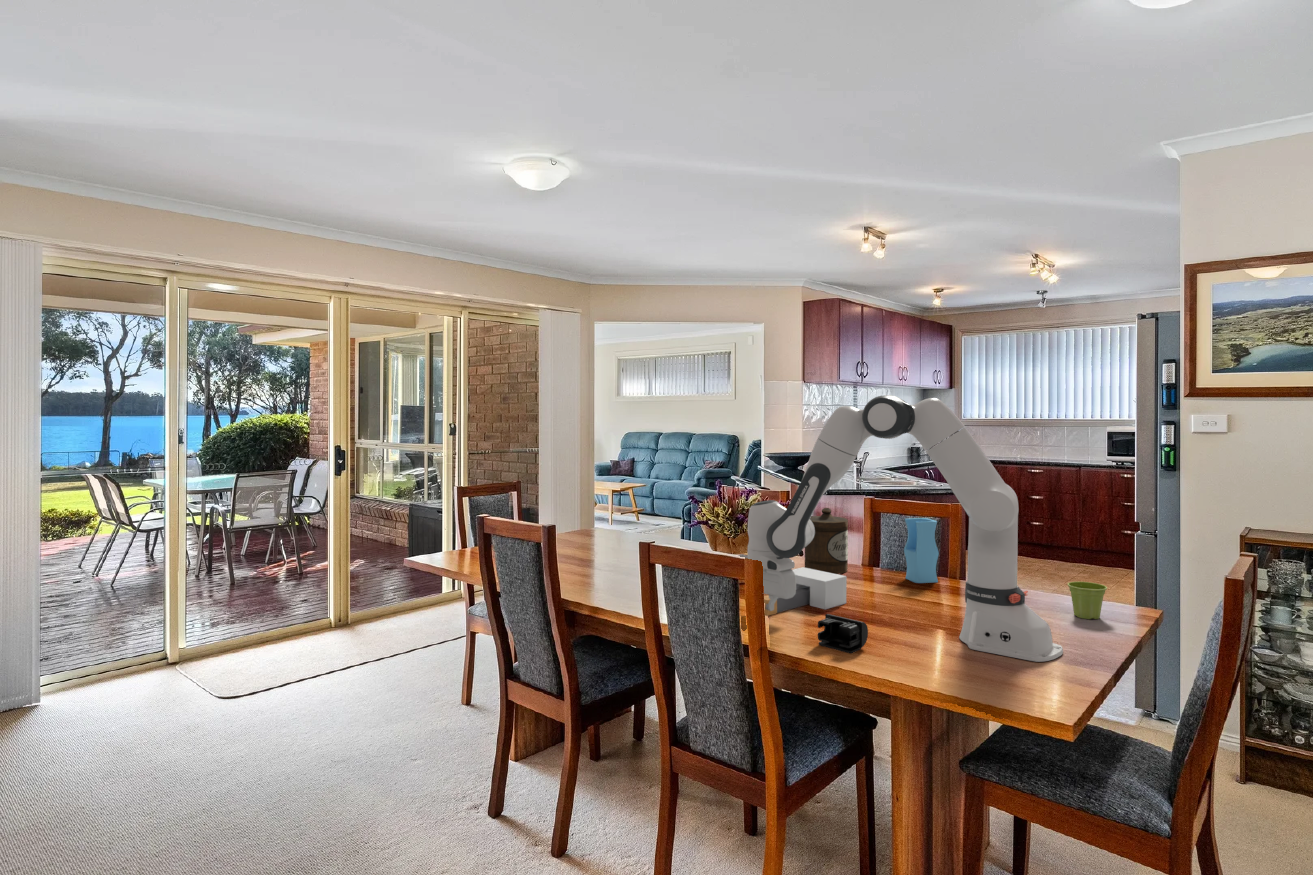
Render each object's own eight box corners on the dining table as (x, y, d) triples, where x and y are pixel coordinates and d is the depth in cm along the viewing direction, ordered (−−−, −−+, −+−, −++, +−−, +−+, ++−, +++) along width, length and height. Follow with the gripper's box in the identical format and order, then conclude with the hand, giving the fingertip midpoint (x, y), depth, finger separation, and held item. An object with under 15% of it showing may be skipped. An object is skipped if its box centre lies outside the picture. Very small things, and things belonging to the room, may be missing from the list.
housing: (846, 603, 214) (846, 576, 214) (825, 609, 208) (825, 581, 208) (802, 592, 227) (802, 567, 226) (781, 598, 220) (781, 571, 220)
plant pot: (1062, 616, 200) (1062, 585, 200) (1072, 609, 207) (1073, 579, 206) (1101, 623, 194) (1101, 591, 193) (1110, 616, 200) (1111, 585, 200)
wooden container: (840, 576, 249) (841, 512, 248) (798, 571, 256) (799, 509, 255) (852, 568, 262) (853, 506, 261) (812, 563, 269) (812, 504, 268)
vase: (903, 577, 246) (904, 518, 245) (925, 576, 248) (925, 517, 247) (916, 583, 238) (916, 522, 238) (938, 582, 240) (939, 521, 239)
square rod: (823, 600, 218) (823, 585, 218) (764, 616, 201) (764, 600, 201) (813, 597, 220) (813, 583, 220) (755, 613, 204) (755, 598, 204)
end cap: (868, 647, 175) (868, 619, 175) (852, 654, 170) (853, 625, 170) (831, 638, 182) (832, 611, 182) (816, 644, 177) (816, 617, 177)
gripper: (728, 554, 209) (728, 602, 209) (784, 566, 193) (783, 618, 193) (743, 551, 213) (743, 598, 213) (799, 563, 197) (799, 613, 197)
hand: (763, 608), depth 203 cm, fingers closed on square rod, 4 cm apart
